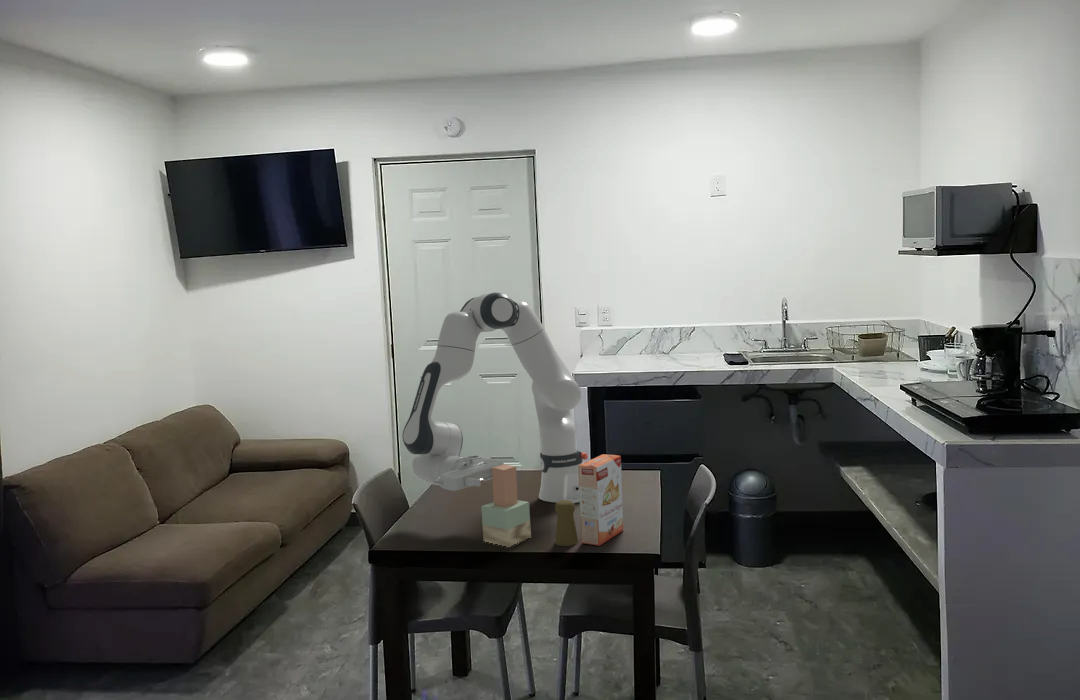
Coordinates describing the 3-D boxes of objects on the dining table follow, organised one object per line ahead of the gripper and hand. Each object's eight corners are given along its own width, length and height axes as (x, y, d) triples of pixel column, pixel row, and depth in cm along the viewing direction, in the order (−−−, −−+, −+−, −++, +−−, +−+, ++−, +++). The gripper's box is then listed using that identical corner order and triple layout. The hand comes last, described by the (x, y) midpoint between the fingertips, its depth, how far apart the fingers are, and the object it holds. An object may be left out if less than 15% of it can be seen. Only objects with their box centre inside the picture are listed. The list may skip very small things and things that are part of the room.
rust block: (505, 500, 227) (503, 464, 226) (517, 503, 224) (515, 466, 223) (493, 504, 223) (491, 467, 222) (505, 507, 220) (504, 470, 219)
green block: (505, 515, 230) (503, 497, 230) (530, 520, 225) (529, 502, 224) (482, 524, 223) (481, 506, 223) (507, 529, 218) (506, 510, 217)
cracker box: (601, 547, 215) (597, 466, 213) (580, 544, 218) (576, 465, 216) (625, 530, 227) (621, 454, 224) (605, 528, 230) (601, 453, 228)
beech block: (506, 532, 231) (505, 515, 230) (531, 538, 225) (530, 520, 225) (483, 542, 224) (482, 524, 224) (508, 548, 218) (507, 529, 218)
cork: (554, 539, 223) (551, 498, 222) (576, 537, 223) (574, 497, 222) (556, 547, 217) (554, 505, 216) (579, 545, 217) (577, 503, 216)
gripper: (429, 469, 227) (465, 475, 218) (482, 454, 242) (518, 459, 233) (430, 492, 228) (466, 499, 219) (483, 475, 243) (519, 481, 234)
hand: (493, 478), depth 226 cm, fingers open, 8 cm apart
